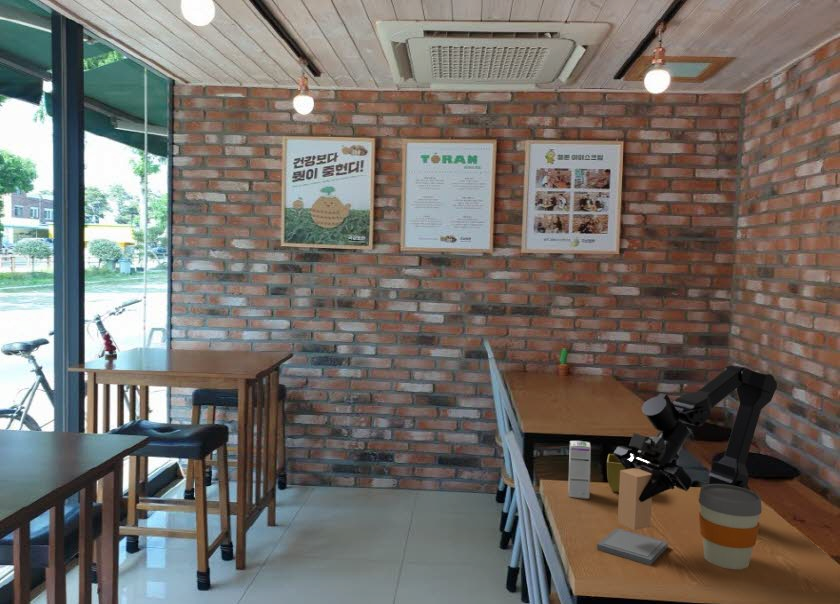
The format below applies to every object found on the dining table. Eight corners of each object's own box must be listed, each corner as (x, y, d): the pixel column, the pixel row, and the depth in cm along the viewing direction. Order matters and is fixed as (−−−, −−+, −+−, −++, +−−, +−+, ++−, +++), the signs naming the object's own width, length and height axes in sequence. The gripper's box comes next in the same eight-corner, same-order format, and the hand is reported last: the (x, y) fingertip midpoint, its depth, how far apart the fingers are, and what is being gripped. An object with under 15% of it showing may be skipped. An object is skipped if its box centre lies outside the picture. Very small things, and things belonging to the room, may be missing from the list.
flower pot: (638, 487, 191) (639, 457, 191) (637, 497, 183) (639, 465, 183) (606, 483, 194) (608, 453, 194) (605, 493, 186) (606, 461, 185)
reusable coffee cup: (755, 579, 136) (759, 508, 136) (690, 562, 143) (694, 495, 142) (760, 557, 147) (765, 491, 146) (700, 543, 154) (704, 479, 153)
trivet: (667, 547, 151) (668, 541, 151) (650, 565, 141) (650, 559, 141) (616, 533, 158) (616, 527, 158) (596, 549, 148) (597, 543, 148)
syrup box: (589, 499, 180) (592, 447, 180) (567, 497, 182) (570, 445, 181) (588, 492, 186) (591, 441, 185) (567, 490, 187) (569, 439, 186)
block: (633, 518, 153) (635, 467, 152) (650, 526, 148) (653, 474, 148) (617, 522, 150) (620, 470, 150) (634, 530, 146) (637, 477, 145)
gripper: (620, 412, 158) (583, 463, 153) (685, 430, 142) (646, 488, 137) (642, 441, 162) (607, 491, 158) (708, 462, 146) (670, 519, 141)
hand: (630, 496), depth 148 cm, fingers closed on block, 5 cm apart
